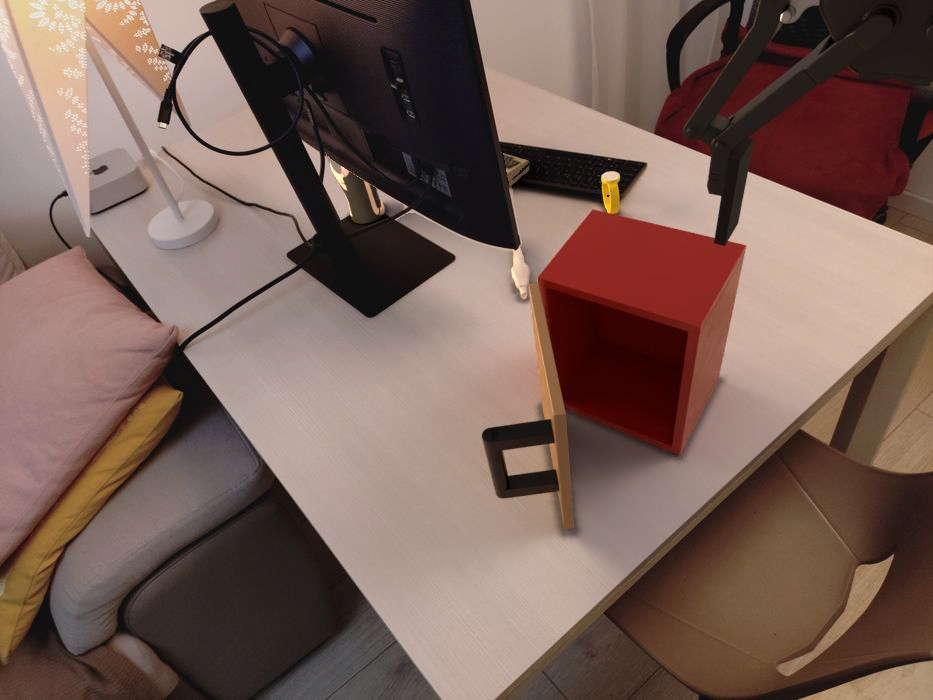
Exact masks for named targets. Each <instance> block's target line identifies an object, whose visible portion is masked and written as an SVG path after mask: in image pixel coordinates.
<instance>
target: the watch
mask: <svg viewBox="0 0 933 700" xmlns="http://www.w3.org/2000/svg"><path fill="white" fill-rule="evenodd" d="M600 180H601V181H600V182H601V191H602V199H603V200H602V201H603V205H604V207H605V209H606V212H607V213H611V214H615V215H617V214H618V213H619V211H620V206H621V205H620V203H621V202H620V191H619V185H618V183H619V182H620V180H621V175H620V173H619V172H617V171H614V170H612V171H611V170H610V171H606V172H604V173H603V174H601V178H600ZM607 195H610V196H609V197H607Z"/></svg>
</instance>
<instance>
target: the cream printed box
mask: <svg viewBox="0 0 933 700" xmlns="http://www.w3.org/2000/svg"><path fill="white" fill-rule="evenodd" d="M502 153H503V155H504V160H505V165H506V172H507V177H508V181H509V186H510V187H511V186H512V185H513V184H515V183H516V182H517V181H518V180H520V179H521V177H523V176H524V175H525V174H526V173H528V172H529V170H530V165H529V166H528V167H527V168H526V169H525V170H524V171H523V172H522V173H521V174H520V175H518V176H517V177H516V178H515V179H514V180H512V179H513V177H514V176H516V175H517V174H518V173H519V172H520V170H522V168H524V167H525V166H526V165H527V164H528V163H529V164H530V161H529V160H527V159H525V158H520V157H517V156H515V155H510V154H507V153H504V152H502Z"/></svg>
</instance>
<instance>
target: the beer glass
mask: <svg viewBox="0 0 933 700" xmlns="http://www.w3.org/2000/svg"><path fill="white" fill-rule="evenodd" d="M325 156H326V159H327V162H328V166H329V168H330V171H331V172H332V174H333V177H334V179H335V181H336V182H337V184H338V186H339V187H340V190H341V191H342V192H343V194H344V196H345V198H346V201H347V204H348V208H349V215H350V218H351V220H352V221H353V222H354V223H356V224H360V225H366V224H370V223H374V222H376V221H378V220H379V219H381V218H382V217H383V215H384V214H385V211H386V208H385V207H386V206H385V205H384V203H383V201H382V199H381V198H380V195H379V193H378V188H377V187H376V188H375V187H373V186H372V185H370V184H369V183H367V182H365V181H364V180H362V179H360V178H359V177H357V176H356V175H354V174H353V173H351V172H350V171H348V170H347V169H345V168H344V167H342V166H340V165H338V164H337V163H336V162H335V161H333V160H332V159H330V157H329V156H327V154H326V153H325Z"/></svg>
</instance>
